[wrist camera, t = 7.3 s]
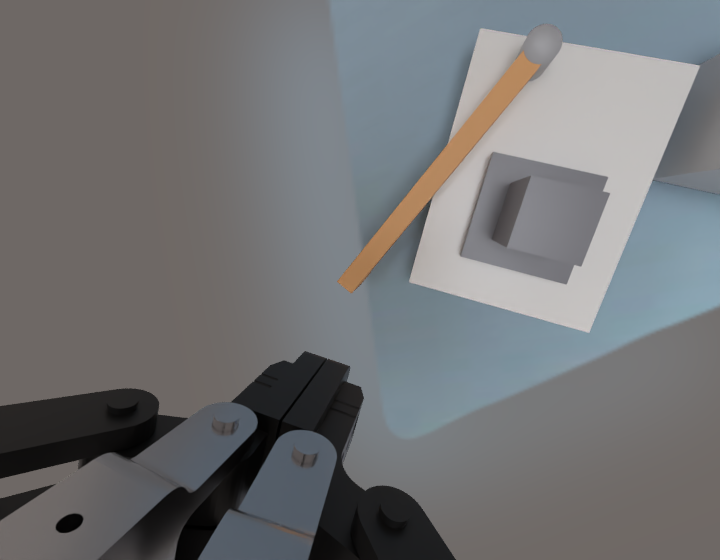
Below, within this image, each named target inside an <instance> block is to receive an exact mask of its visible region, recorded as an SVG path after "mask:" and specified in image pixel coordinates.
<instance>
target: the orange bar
mask: <svg viewBox="0 0 720 560" xmlns="http://www.w3.org/2000/svg"><path fill="white" fill-rule="evenodd" d="M562 42H563V38H562V34H561V32H560V30H559V29H558V28H557V27H556V26H554V25H551V24H542V25H539V26H537V27H535V28H534V29H533V30H532V31H531V32H530V33H529V34H528V36H527V38H526V40H525V41H524V43H523V45H522V47H521V49H520V51H519V53H518V55H517V57H516V59H515V61H514V62H513V64H512V65H511V66H510V67H509V69H508V70H507V71H506V72H505V74H504V75H503V76H502V77H501V79H500V80H499V81H498V82H497V84H496V85H495V86H494V87H493V89H492V90H491V91H490V92H489V94H488V95H487V96H486V97H485V98H484V100H483V101H482V102H481V103H480V105H479V106H478V107H477V108H476V110H475V111H474V112H473V113H472V115H471V116H470V117H469V118H468V120H467V121H466V122H465V123H464V125H463V126H462V127H461V128H460V130H459V131H458V132H457V133H456V135H455V136H454V137H453V138H452V139H451V141H450V142H449V143H448V144H447V146H446V147H445V148H444V149H443V151H442V152H441V153H440V154H439V156H438V157H437V158H436V159H435V161H434V162H433V163H432V164H431V166H430V167H429V168H428V169H427V171H426V172H425V173H424V174H423V175H422V177H421V178H420V179H419V180H418V182H417V183H416V184H415V185H414V187H413V188H412V189H411V190H410V192H409V193H408V194H407V195H406V197H405V198H404V199H403V200H402V202H401V203H400V204H399V205H398V207H397V208H396V209H395V210H394V211H393V213H392V214H391V215H390V216H389V218H388V219H387V220H386V221H385V223H384V224H383V225H382V226H381V228H380V229H379V230H378V231H377V233H376V234H375V235H374V236H373V238H372V239H371V240H370V241H369V243H368V244H367V245H366V246H365V248H364V249H363V250H362V251H361V253H360V254H359V255H358V256H357V258H356V259H355V260H354V261H353V263H352V264H351V265H350V266H349V267H348V269H347V270H346V271H345V272H344V274H343V275H342V276H341V277H340V279H339V280H338V281H337V282H338V283H339V284H341V285H342V286H343V287H344V288H345V289H347V290H348V291H349V292H350V293H352V292H353V291H354V290H356V289H357V287H359V286H360V285H361V284H362V282H363V281H364V280H365V279H366V278H367V276H368V275H369V274H370V273H371V270H372V269H373V268H374V267H375V266H376V264H377V263H378V262H379V261H380V260H381V258H382V257H383V256H384V255H385V254H386V252H387V251H388V250H389V249H390V248H391V246H392V245H393V244H394V243H395V242H396V240H397V239H398V238H399V237H400V236H401V234H402V233H403V232H404V231H405V230H406V228H407V227H408V226H409V225H410V224H411V222H412V221H413V220H414V219H415V217H416V216H417V215H418V214H419V213H420V211H421V210H422V209H423V208H424V207H425V205H426V204H427V203H428V202H429V201H430V199H431V198H432V197H433V196H434V195H435V193H436V192H437V191H438V190H439V189H440V187H441V186H442V185H443V184H444V183H445V181H446V180H447V179H448V178H449V177H450V175H451V174H452V173H453V172H454V171H455V169H456V168H457V167H458V166H459V165H460V163H461V162H462V161H463V160H464V158H465V157H466V156H467V155H468V154H469V152H470V151H471V150H472V149H473V148H474V146H475V145H476V144H477V143H478V142H479V140H480V139H481V138H482V137H483V136H484V134H485V133H486V132H487V131H488V130H489V128H490V127H491V126H492V125H493V124H494V122H495V121H496V120H497V119H498V118H499V116H500V115H501V114H502V113H503V112H504V110H505V109H506V108H507V107H508V106H509V104H510V103H511V102H512V101H513V99H514V98H515V97H516V96H517V95H518V93H519V92H520V91H521V90H522V89H523V87H524V86H525V85H526V84H527V83H528V81H533V80H535V79H537V78H538V77H540V76H541V75H542V74H543V72H544V71H545V70H546V68H547V67H548V66H549V64H550V63H551V62H552V61H553V59H554V58H555V57H556V55H557V54H558V53H559V51H560V49H561V47H562Z"/></svg>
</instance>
